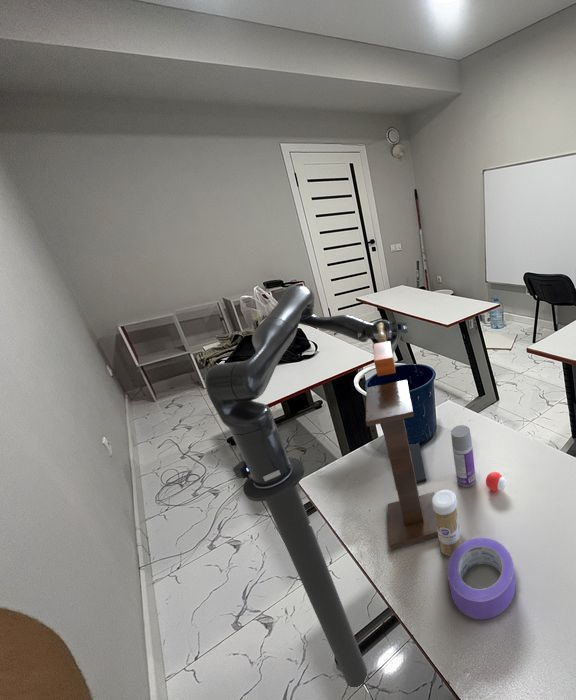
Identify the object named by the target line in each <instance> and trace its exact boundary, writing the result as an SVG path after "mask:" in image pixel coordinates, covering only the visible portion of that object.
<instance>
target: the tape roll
mask: <svg viewBox="0 0 576 700" xmlns="http://www.w3.org/2000/svg"><path fill="white" fill-rule="evenodd" d="M449 557H450V558H449V560H448V563H447V578H448V583H449V588H450V589H449V590H450V594H451V598H452V600H453V602H454V605H455V606H456V608H458V610H459V611H460V612H461V613H462V614H464V615H465V616H466V617H469V618H471V619H473V620H489V619H493V618H495V617H497V616H499V615H501V614H502V613H503V612H504V611H505V610H506V609H507V608H508V607H509V606H510V605H511V603H512V601H513V599H514V595H515V591H516V580H515V579H516V578H515V567H514V561H513V558H512V556H511V553H510V552H509V550H508V549H507V548H506V547H505V545H504V544H502V543H500V542H499V541H497V540H495V539H492V538H489V537H483V536H481V537H474V538H470V539H468V540H465V541H463V542H462V544H461V545H459V546H458V547H457V548H456V549H455V551H454V552H453V554H452V555H451V556H449ZM478 565H479V566H480V565H488V566H491V567H493V568H495V569H496V570H497V571H498V572H499V574H500V575H499V577H498V579H497V581H495V582H494V583H493V584H492V585H490V586H488V587H485V588H475V587H472V586H470V585H468V584H467V583H466V582H465V581H464V580H463V579H464V577H465V575H466V573H467V572H468V571H469V570H470V569H471V568H474V567H475V566H478Z"/></svg>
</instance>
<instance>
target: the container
mask: <svg viewBox="0 0 576 700" xmlns="http://www.w3.org/2000/svg"><path fill="white" fill-rule="evenodd" d="M450 435H451V445H452V453H453V460H454V461H453V462H454V466H455V475H456V476H455V477H456V482H457V484H458V486H460V487H463V488H469V487H471V486H473V485H474V484H475V483H476V481H477V477H476V468H475V459H474V457H475V456H474V450H473V442H472V435H471V429H470V427H468V426H467V425H464V424H461V425H456V426H454V427H452V429H451V430H450Z"/></svg>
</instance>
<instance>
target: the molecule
mask: <svg viewBox="0 0 576 700" xmlns="http://www.w3.org/2000/svg"><path fill="white" fill-rule="evenodd" d="M485 485H486V487H487V488H488V489H489V490H491V491H492V492H498V491H503V490H505V489H506V487H507V480H506V478H505V477H504V476H502V475H501V473H500V472H497V471H492V472H490V473H488V474H487V476H486V477H485Z"/></svg>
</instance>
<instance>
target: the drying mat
mask: <svg viewBox="0 0 576 700" xmlns="http://www.w3.org/2000/svg"><path fill="white" fill-rule="evenodd" d="M409 448H410V453H411V458H412V463H413V468H414V473H415V478H416V483H417V484H418V483H423V482H426V481H427V476H426V472H425V466H424V461H423V457H422V451H421V445H420V442H419V443H416V444H409Z"/></svg>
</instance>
